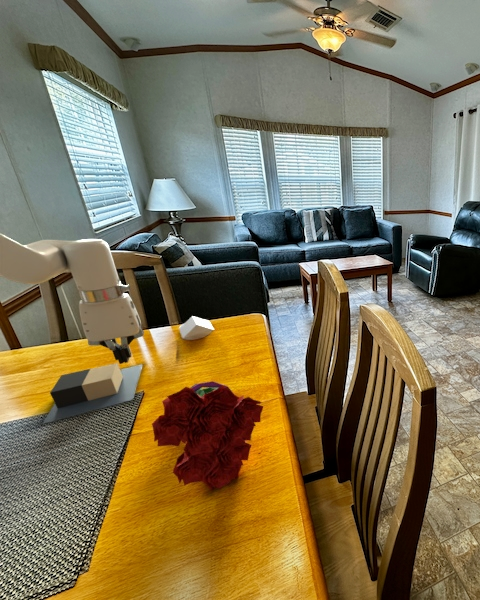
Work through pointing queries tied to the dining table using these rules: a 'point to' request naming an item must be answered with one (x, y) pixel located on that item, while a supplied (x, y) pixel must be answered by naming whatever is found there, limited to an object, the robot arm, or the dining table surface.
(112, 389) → the loose pad
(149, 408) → the dining table surface
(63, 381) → the back pad left
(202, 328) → the wedge on round base
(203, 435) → the bouquet
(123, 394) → the board
